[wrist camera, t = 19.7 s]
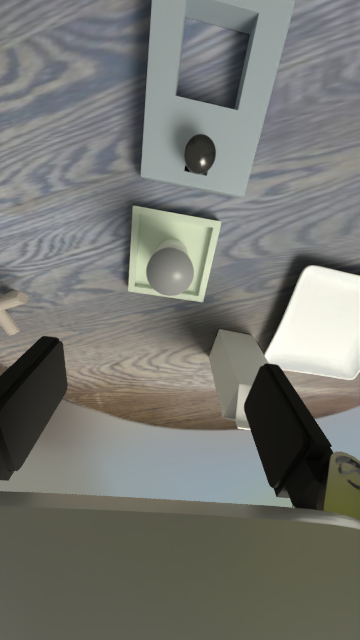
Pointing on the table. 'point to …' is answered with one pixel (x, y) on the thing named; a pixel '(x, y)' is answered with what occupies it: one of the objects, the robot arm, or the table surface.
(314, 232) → the table surface
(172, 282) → the cartridge
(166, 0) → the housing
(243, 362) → the milk carton
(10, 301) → the pipe connector
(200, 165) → the plunger
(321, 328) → the salad plate
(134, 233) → the tray
